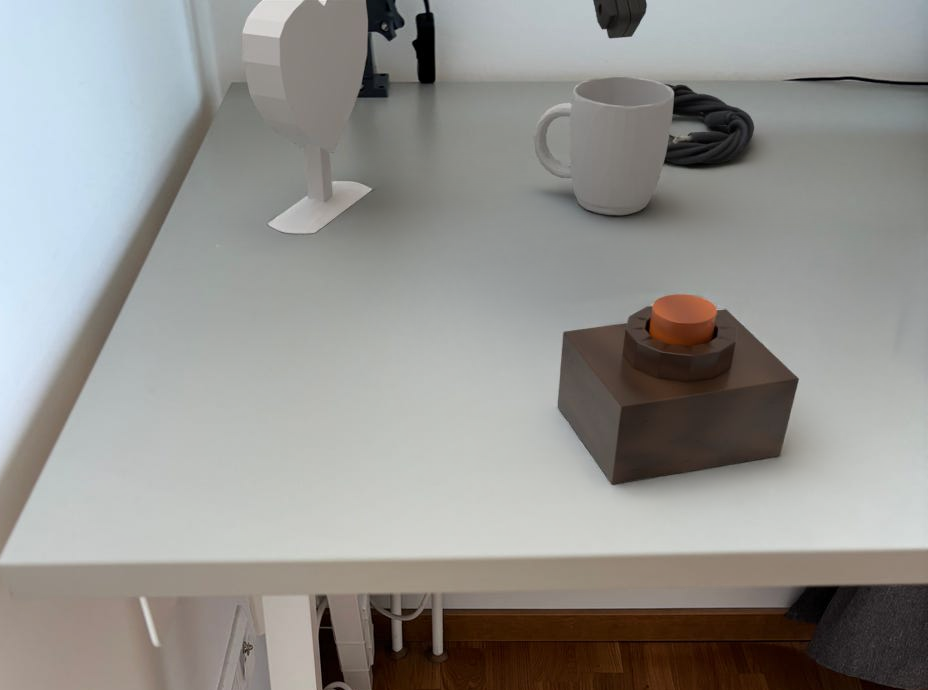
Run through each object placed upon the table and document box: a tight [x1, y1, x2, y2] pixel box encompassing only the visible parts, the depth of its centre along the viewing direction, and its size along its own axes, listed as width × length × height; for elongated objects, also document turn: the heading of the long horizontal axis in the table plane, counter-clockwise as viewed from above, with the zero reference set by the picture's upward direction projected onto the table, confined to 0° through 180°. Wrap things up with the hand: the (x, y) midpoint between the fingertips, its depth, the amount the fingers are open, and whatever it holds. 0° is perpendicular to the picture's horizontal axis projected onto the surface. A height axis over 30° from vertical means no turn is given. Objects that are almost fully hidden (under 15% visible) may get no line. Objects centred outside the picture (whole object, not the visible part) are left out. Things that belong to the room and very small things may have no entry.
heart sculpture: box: [241, 0, 373, 234], centre depth 97 cm, size 16×5×18 cm, turn 156°
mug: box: [533, 75, 674, 216], centre depth 101 cm, size 13×9×10 cm
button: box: [649, 293, 718, 346], centre depth 69 cm, size 4×4×2 cm
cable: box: [664, 83, 755, 165], centre depth 115 cm, size 17×14×4 cm
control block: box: [557, 305, 800, 485], centre depth 71 cm, size 12×10×8 cm
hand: (625, 30), depth 69 cm, fingers closed
